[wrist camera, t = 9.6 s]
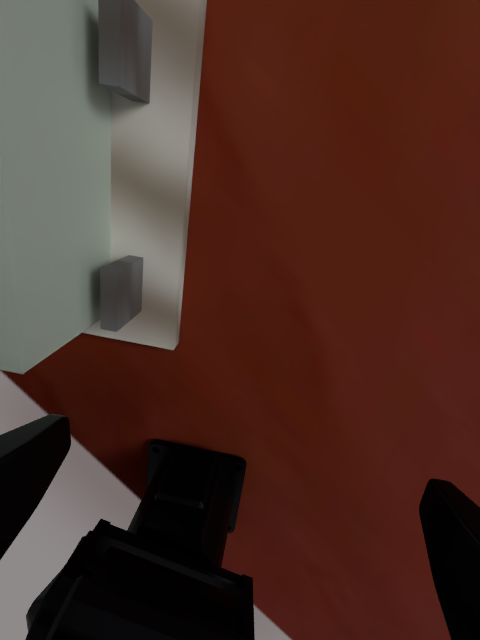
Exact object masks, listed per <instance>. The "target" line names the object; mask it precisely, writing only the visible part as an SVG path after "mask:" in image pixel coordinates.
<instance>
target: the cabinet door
mask: <svg viewBox="0 0 480 640" xmlns="http://www.w3.org/2000/svg"><path fill="white" fill-rule="evenodd" d="M110 249H111V90H110V89H108V88H106V87H104V86H102V85H100V84H99V27H98V0H0V370H5V371H10V372H14V373H19V374H23V373H25V372H26V371H28V370H29V369H31V368H32V367H33V366H35V365H36V364H38V363H39V362H41V361H42V360H43V359H45V358H46V357H48V356H49V355H51V354H52V353H53V352H55V351H56V350H58V349H59V348H60V347H62V346H63V345H65V344H66V343H68V342H69V341H70V340H72V339H73V338H75V337H76V336H78V335H79V334H80V333H82V332H83V331H85V330H86V329H88V328H89V327H90V326H92V325H93V324H95V323H96V322H97V321H99V320H100V267H102V266H105V265H107V264H109V263H110Z"/></svg>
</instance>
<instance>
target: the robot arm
mask: <svg viewBox="0 0 480 640" xmlns="http://www.w3.org/2000/svg"><path fill="white" fill-rule="evenodd" d="M70 445H71V436H70V426H69V419H68V418H67V417H66V416H63V415H57V414H50V415H47V416H45V417H42V418H40V419H38V420H35V421H33V422H31V423H28V424H26V425H24V426H21V427H19V428H16V429H14V430H11V431H9V432H7V433H4V434H2V435H0V560H1V558H2V557H3V555H4V554H5V552H6V551H7V550H8V548H9V547H10V545H11V544H12V542H13V541H14V539H15V538H16V536H17V535H18V533H19V532H20V531H21V529H22V528H23V526H24V525H25V524H26V522H27V521H28V519H29V518H30V517H31V515H32V513H33V512H34V510H35V509H36V508H37V506H38V504H39V502H40V501H41V499H42V498H43V496H44V494H45V492H46V490H47V489H48V487H49V485H50V484H51V482H52V480H53V478H54V476H55V475H56V473H57V471H58V469H59V468H60V466H61V464H62V462H63V460H64V459H65V457H66V455H67V453H68V451H69V449H70ZM155 447H158V448H159V449H157V448H155ZM237 464H239V465H241V466H237ZM245 470H246V461H245V460H244V459H243V458H241V457H237V456H232V455H227V454H222V453H218V452H213V451H208V450H204V449H199V448H194V447H189V446H185V445H180V444H175V443H170V442H166V441H161V440H154V441H152V442H151V444H150V446H149V453H148V471H147V489H146V492H145V494H144V496H143V499H142V501H141V503H140V505H139V507H138V509H137V511H136V513H135V515H134V517H133V519H132V522H131V524H130V526H129V528H128V530H127V531H126V530H123V529H121V528H118V527H115V526H113V525H111V524H110V522H108V521H106V520H103V519H101V520H100V521H99V522H98V524H97V525H96V527H95V528H94V530H93V531H89V532H88V534H87V535H86V536H84V537H82V538H81V540H80V542H79V543H78V545H77V547H76V549H75V550H74V552H73V554H72V555H71V557H70V558H69V560H68V562H67V563H66V565H65V566H64V568H63V569H62V570H61V571H60V572H59V573H58V574H57V576H56V577H55V578H54V579H53V580H52V581H51V583H49V585H48V586H47V587H46V588H45V589H44V590H43V591H42V592H41V594H40V595H39V596H38V597H37V598H36V599H35V600H34V602H33V603H32V605H31V607H30V608H29V610H28V613H27V615H26V620H27V627H28V634H27V637H26V640H254V608H253V579H252V578H251V577H249V576H246V575H244V574H243V575H242V576H241V575H238V574H236V573H233V572H231V571H228V570H226V569H223V568H221V566H222V560H223V555H224V550H225V544H226V539H227V534H228V533H231V532H233V531H234V529H235V524H236V518H237V513H238V507H239V502H240V497H241V491H242V486H243V481H244V475H245ZM419 514H420V519H421V524H422V529H423V533H424V538H425V543H426V548H427V553H428V557H429V562H430V567H431V572H432V576H433V581H434V585H435V588H436V592H437V595H438V599H439V602H440V605H441V608H442V611H443V615H444V618H445V621H446V624H447V627H448V631H449V634H450V637H451V640H480V507H479V506H477V505H476V504H475V503H474V502H473V501H472V500H471V499H469V498H468V497H467V496H466V495H465V494H464V493H463V492H461V491H460V490H459V489H458V488H457V487H456V486H454V485H453V484H452V483H451V482H449V481H446V480H440V479H430V480H429V481H428V483H427V486H426V488H425V491H424V494H423V497H422V499H421V502H420V506H419Z"/></svg>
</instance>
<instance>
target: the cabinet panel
mask: <svg viewBox="0 0 480 640" xmlns="http://www.w3.org/2000/svg"><path fill="white" fill-rule="evenodd" d="M206 4H207V0H98V27H99V84H100V85H102V86H104V87H106V88H108V89H110V90H111V249H110V263H109V264H107V265H105V266H102V267H100V320H99V321H97V322H96V323H95V324H93V325H92V326H90V327H89V328H88V329H86V330H85V331H83V332H82V333H86V334H92V335H97V336H102V337H107V338H113V339H118V340H123V341H128V342H134V343H139V344H144V345H149V346H155V347H160V348H165V349H170V350H174V348H175V347H176V346H177V344H178V343H179V331H180V319H181V307H182V294H183V282H184V270H185V258H186V246H187V234H188V222H189V210H190V198H191V186H192V174H193V161H194V149H195V137H196V125H197V113H198V101H199V89H200V77H201V65H202V53H203V41H204V28H205V16H206Z"/></svg>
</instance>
